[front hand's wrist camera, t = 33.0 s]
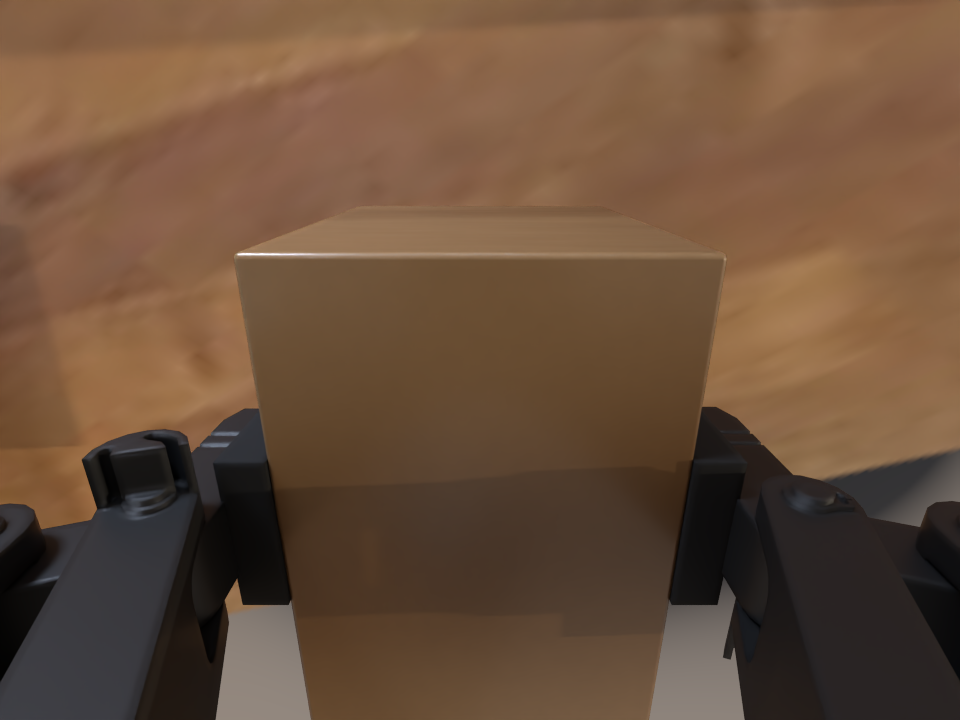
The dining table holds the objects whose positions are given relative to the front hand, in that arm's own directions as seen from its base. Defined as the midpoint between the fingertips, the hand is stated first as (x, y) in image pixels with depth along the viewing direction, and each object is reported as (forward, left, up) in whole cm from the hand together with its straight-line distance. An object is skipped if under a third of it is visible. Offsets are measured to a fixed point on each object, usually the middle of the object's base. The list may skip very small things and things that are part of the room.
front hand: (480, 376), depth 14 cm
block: (0, 0, -1) cm, 1 cm away
